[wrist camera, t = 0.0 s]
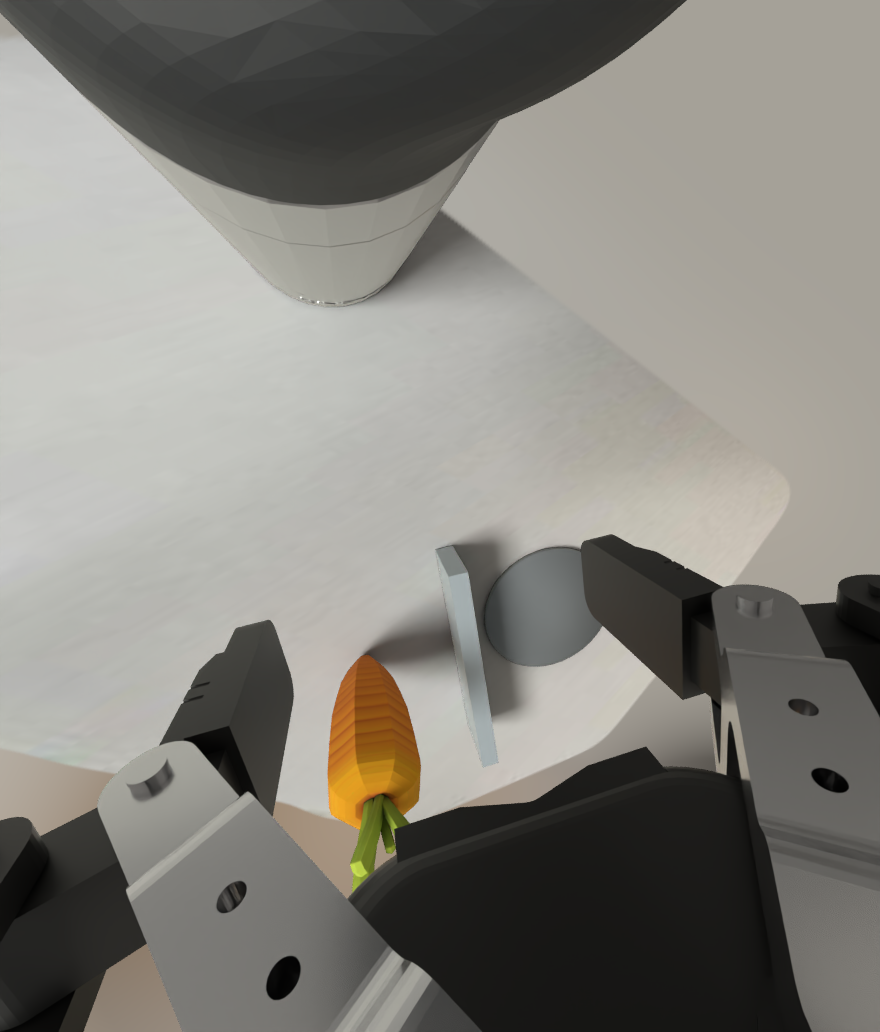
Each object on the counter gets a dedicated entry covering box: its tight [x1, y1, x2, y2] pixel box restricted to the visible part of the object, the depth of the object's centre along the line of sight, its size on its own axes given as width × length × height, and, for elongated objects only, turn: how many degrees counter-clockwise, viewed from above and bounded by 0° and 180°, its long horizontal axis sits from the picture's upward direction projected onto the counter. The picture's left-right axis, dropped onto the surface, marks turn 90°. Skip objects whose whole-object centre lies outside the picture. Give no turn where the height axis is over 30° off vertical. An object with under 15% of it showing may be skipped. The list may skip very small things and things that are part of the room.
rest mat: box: [484, 547, 603, 666], centre depth 33 cm, size 10×10×1 cm
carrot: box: [328, 655, 421, 893], centre depth 25 cm, size 5×5×15 cm
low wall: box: [435, 546, 498, 767], centre depth 31 cm, size 16×1×4 cm, turn 10°
